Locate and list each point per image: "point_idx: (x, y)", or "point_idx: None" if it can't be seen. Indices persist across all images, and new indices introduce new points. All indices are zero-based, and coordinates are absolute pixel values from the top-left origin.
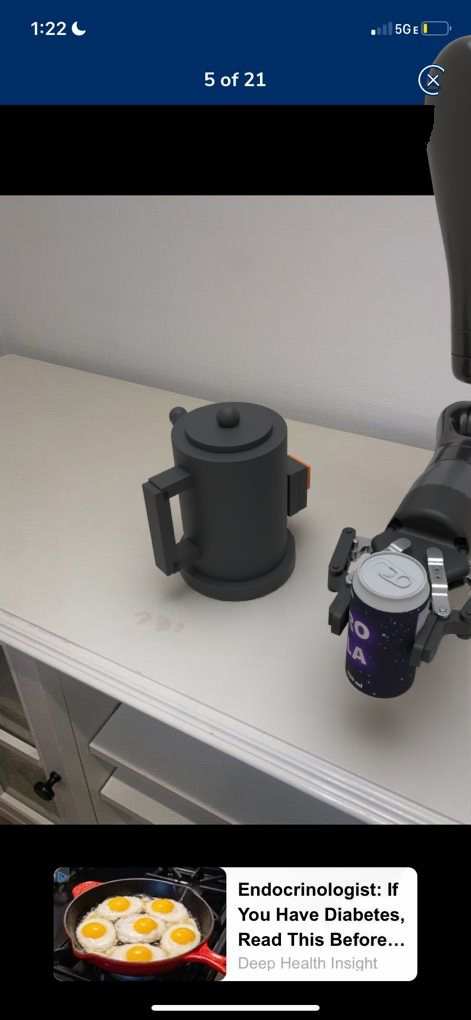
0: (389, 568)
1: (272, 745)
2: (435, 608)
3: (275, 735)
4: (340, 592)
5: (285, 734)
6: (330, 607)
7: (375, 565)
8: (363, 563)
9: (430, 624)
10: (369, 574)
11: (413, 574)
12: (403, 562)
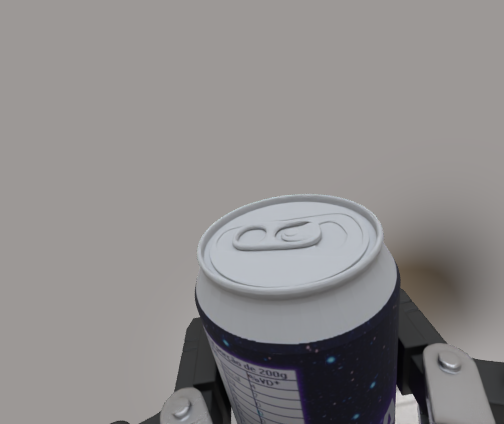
0: (303, 240)
1: (397, 392)
2: (200, 400)
3: (408, 405)
4: (430, 330)
5: (401, 415)
6: (400, 290)
7: (345, 239)
8: (371, 224)
9: (203, 354)
10: (331, 217)
11: (237, 258)
12: (283, 270)
